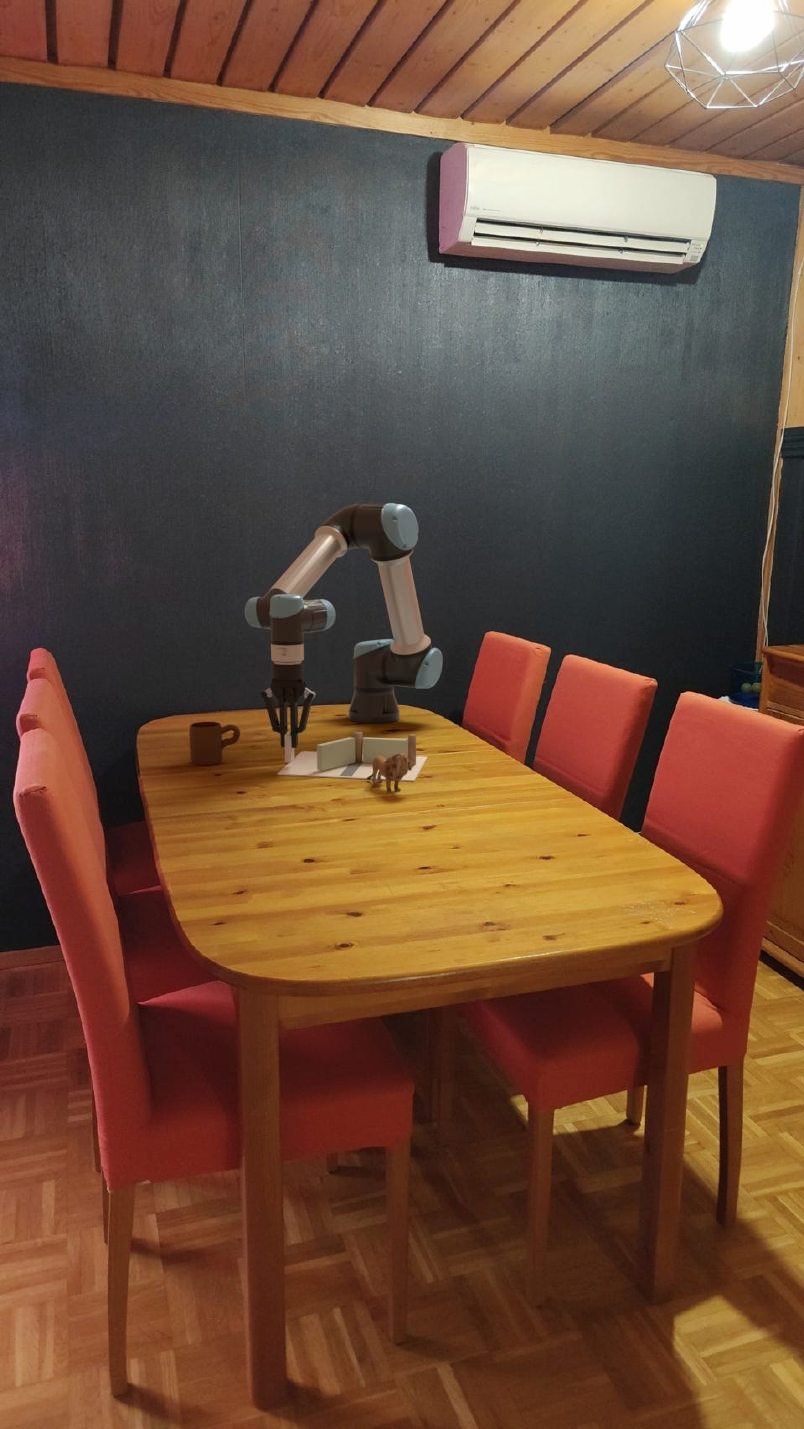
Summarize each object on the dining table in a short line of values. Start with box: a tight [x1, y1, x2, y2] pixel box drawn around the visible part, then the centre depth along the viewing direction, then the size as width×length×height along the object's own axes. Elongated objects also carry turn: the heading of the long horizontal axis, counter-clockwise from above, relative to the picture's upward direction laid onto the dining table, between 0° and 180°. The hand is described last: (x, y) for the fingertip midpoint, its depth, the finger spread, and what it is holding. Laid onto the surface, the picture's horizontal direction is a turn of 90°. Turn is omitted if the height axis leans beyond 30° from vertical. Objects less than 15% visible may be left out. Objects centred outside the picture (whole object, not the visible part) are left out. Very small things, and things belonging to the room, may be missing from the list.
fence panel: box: [316, 736, 355, 771], centre depth 227 cm, size 2×11×6 cm, turn 138°
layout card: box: [276, 750, 429, 783], centre depth 230 cm, size 22×32×1 cm
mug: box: [188, 721, 241, 767], centre depth 232 cm, size 12×8×9 cm, turn 102°
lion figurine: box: [366, 753, 414, 795], centre depth 210 cm, size 15×5×9 cm, turn 39°
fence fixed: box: [351, 731, 417, 765], centre depth 231 cm, size 2×16×7 cm, turn 81°
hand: (289, 760), depth 227 cm, fingers closed
